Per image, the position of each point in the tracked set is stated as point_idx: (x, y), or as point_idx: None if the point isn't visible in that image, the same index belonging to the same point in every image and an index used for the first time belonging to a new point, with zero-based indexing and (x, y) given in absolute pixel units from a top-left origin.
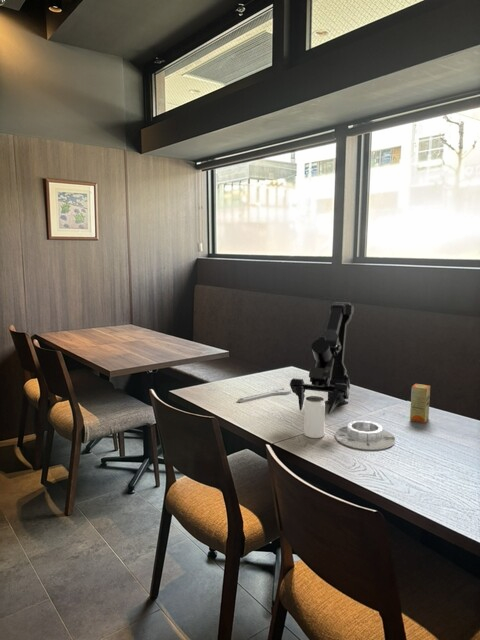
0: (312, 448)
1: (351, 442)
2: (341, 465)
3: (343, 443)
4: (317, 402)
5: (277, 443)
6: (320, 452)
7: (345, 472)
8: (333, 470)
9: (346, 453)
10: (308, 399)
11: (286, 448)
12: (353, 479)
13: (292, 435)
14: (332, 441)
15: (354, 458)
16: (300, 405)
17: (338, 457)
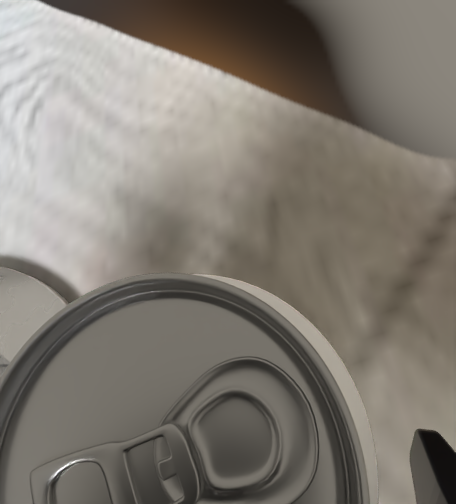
0: (224, 194)
1: (14, 308)
2: (82, 87)
3: (61, 298)
4: (94, 304)
5: (444, 182)
6: (177, 165)
7: (70, 46)
8: (112, 41)
9: (57, 201)
10: (297, 453)
11: (363, 142)
12: (47, 17)
13: (401, 343)
14: None
15: (27, 165)
16: (452, 476)
17: (93, 148)
